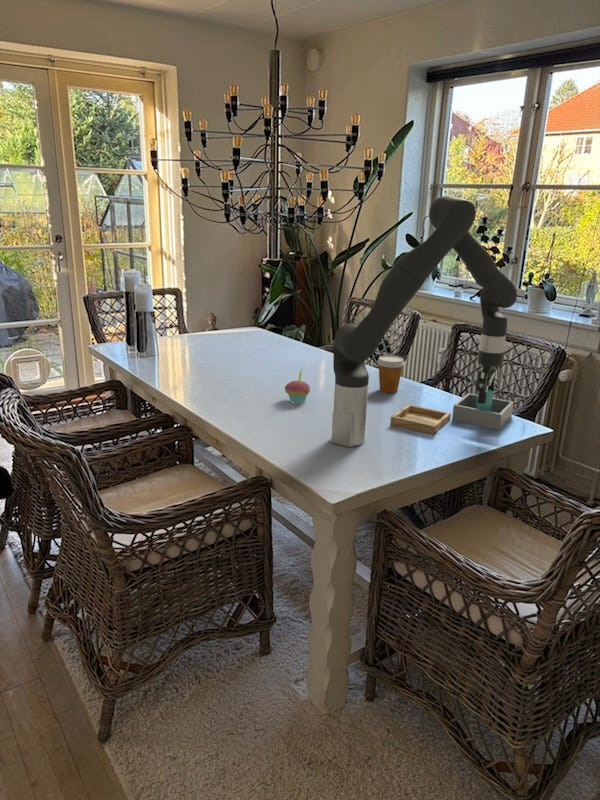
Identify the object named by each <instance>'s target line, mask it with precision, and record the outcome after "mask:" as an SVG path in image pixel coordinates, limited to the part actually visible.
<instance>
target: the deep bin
mask: <svg viewBox="0 0 600 800" xmlns="http://www.w3.org/2000/svg"><path fill="white" fill-rule="evenodd" d="M477 398H478V394H476V393H475V394H474V393H470V392H468V393H467V394H465V395H463V397H461V398H460V399H459V400H458V401H457V402H455V403H454V404H453V409H452V417H451V421H454V422H457V423H458V422H459V423H463V424H467V425H473V426H478V427H481V428H486V429H490V430H495V431H500V430H502V428H503V427H504V426H505V425H506V423H508V422H509V420H510V419H511V418H512V417H513V416H512V415H513V408H514V403H515V402H514V401H511V400H507V399H506V400H505V399H500V398H496V397H492V404H491V411H485V410H480V409H476V405H477Z"/></svg>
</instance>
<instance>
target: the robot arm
mask: <svg viewBox="0 0 600 800" xmlns="http://www.w3.org/2000/svg"><path fill="white" fill-rule="evenodd" d="M476 216H477V209H476V206H475V204H474V203H473V202H472V201H470V200H468V199H465V198H461V197H457V196H452V195H442V196H439V197H438V198H436V199H435V200H434V201H433V202H432V203H431V205H430V208H429V211H428V217H429V221H430V224H431V225H432V226H433V228H434V231H433V232H432V234H431V235H430V236H429V237H428V238H427V239H426V240H424V241H423V242H422V243H421V244H419V245H418V246H416V247H415V248H413V249H411V250H410V251H408V252H407V253H406V254H404V255H403V256H401V257H400V258H399V259H398V260H397V261H396V262H395V263H394V264H393V266H392V267H391V269H390V270H389V271H388V273H387V274H385V277H384V278H383V279H382V280H381V283H380V286H379V289H378V291H377V294H376V298H375V300H374V302H373V305H372V307H371V309H370V311H369V312H368V313H367V314H366V315H365V316H364V318H363V320H362V321H361V322H360V323H359V324H355V323H346V324H344V325H342V326H341V327H340V328H339V329H338V330H337V331H336V333H335V335H334V336H335V337H334V340H333V359H332V360H333V364H332V365H333V366H332V367H333V373H334V379H335V380H334V381H335V382H334V395H333V396H334V397H333V398H334V399H333V400H334V401H333V411H332V419H331V420H332V424H331V443H332V444H336V445H338V446H339V445H340V446H344V447H347V448H352V447H357V446H360V445H363V444H364V443H365V438H366V437H365V436H366V422H367V410H368V393H369V381H370V380H369V379H370V375H369V372H368V370H367V367H366V361H367V360H369V358H370V357H371V356H373V354H374V353H375V351H376V350H377V348H378V347H379V345H380V344H381V342H382V340H383V339H384V337H385V336H386V334H387V332H388V330H389V329H390V328H391V326H392V325H393V323H394V322H395V321H396V320H397V318H398V317H399V316H400V314H401V313H403V310H404V309H405V308H406V306H407V305H408V304H409V303H410V301H411V300H412V299H413V298H414V297H415V295H416V294H417V293H418V292H419V290H420V289H421V288H422V287H423V285H424V283H425V282H426V280H427V279H428V278H429V277H430V275H431V274H432V273H433V272H434V270H435V269H436V268H437V267H438V266H439V264H440V263H441V262H442V260H444V258H445V257H446V255H448V253H449V252H450V251H451V250H452V249H453V250H454V251H455V253H456V254H457V256H458V257H459V258H460V260H461V261H462V262H463V264H464V266H465V267H466V269H467V270H468V271H469V274H470V275H471V276H472V278H473V279H474V280H473V281H475V283H476V284H477V285H478V286H479V287H481V291H480V293H479V294H480V295H479V296H480V297H479V304H480V307H481V316H482V327H481V334H480V339H479V346H478V352H477V363H478V364H479V365H481V366H482V369H480V371H478V377H477V383H476V384H477V385H476V391H477V392H478V391H479V395H478V394H477V395H478V403H481V404H484V403H485V402H486V394H487V389H488V390H491V391H493V394H494V392H495V385H497V384H496V383H497V382H498V380H499V368H500V367H501V366H503V364H504V359H505V358H504V357H505V351H506V344H507V342H506V340H507V339H506V335H507V329H508V318H507V316H505V315H503V314H502V313H501V312H500V309H499V308H502V309H507V308H508V309H509V308H511V307H512V306H514V304H516V301H517V298H518V292H517V288H516V287H515V285H514V284H513V282H512V281H511V280H510V279H509V278H508V277H507V276H506V274H504V273H503V272H502V271H500V270H499V268H498V266H497V263H495V261H494V259H493V257H492V256H491V254H490V253H489V251H488V250H486V248H485V246H483V244H481V243H480V242H479V241H478V240H477V239H476V238H475V237H474V236H473V235H472V234H471V233H470V231H469V230H470V229H471V228H472V226H473V224H474V222H475V219H476ZM482 386H483V387H482Z"/></svg>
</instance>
